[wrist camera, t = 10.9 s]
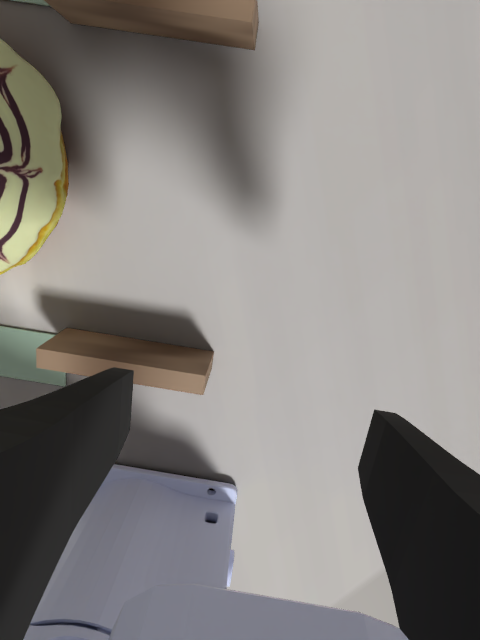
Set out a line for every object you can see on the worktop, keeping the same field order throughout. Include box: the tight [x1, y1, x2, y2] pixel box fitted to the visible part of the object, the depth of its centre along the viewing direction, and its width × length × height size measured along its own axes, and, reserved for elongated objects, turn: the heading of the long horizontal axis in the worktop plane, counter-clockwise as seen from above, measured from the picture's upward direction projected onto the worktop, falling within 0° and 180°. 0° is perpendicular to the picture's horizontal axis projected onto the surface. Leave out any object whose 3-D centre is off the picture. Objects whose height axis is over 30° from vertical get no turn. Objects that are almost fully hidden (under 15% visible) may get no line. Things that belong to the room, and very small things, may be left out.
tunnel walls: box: [36, 0, 259, 395], centre depth 18 cm, size 8×16×3 cm, turn 172°
